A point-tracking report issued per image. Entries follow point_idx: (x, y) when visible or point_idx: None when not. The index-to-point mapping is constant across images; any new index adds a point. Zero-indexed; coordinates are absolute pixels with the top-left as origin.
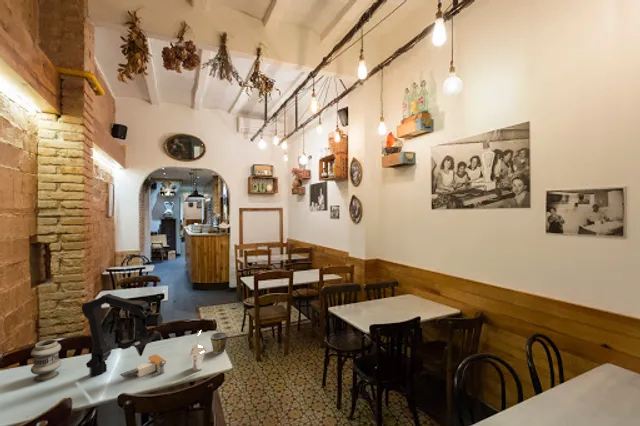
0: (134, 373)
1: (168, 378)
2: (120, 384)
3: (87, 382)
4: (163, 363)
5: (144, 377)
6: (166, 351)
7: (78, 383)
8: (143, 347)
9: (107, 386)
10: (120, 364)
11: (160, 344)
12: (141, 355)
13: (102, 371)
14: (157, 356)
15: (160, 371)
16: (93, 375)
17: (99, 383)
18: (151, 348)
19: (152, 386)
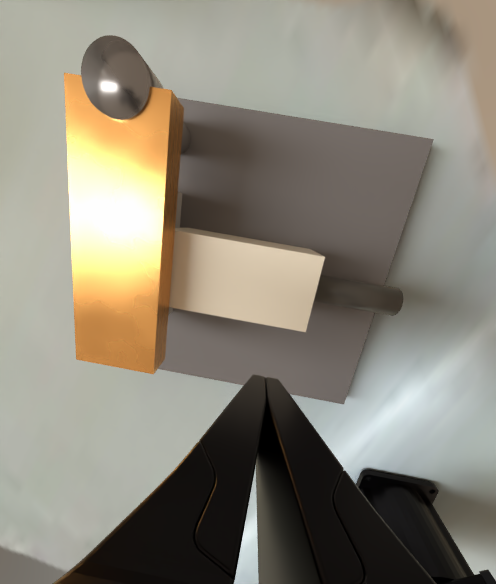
0: (342, 279)
1: (182, 21)
2: (410, 296)
3: (461, 479)
4: (119, 48)
5: (294, 204)
6: (14, 421)
7: (485, 506)
8: (206, 511)
9: (459, 346)
10: (252, 500)
11: (8, 511)
12: (257, 376)
13: (389, 505)
14: (88, 296)
15: (183, 129)
16: (428, 509)
17: (447, 418)
18: (61, 513)
19: (333, 18)
